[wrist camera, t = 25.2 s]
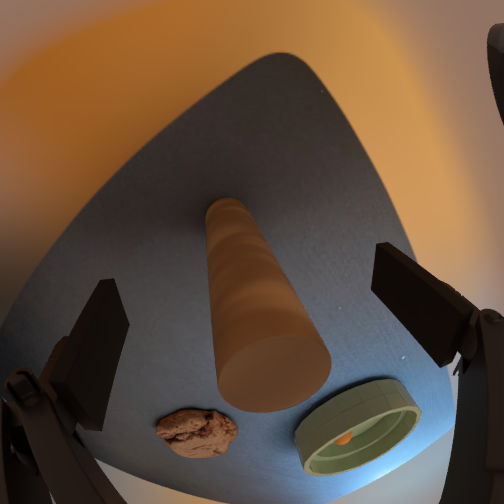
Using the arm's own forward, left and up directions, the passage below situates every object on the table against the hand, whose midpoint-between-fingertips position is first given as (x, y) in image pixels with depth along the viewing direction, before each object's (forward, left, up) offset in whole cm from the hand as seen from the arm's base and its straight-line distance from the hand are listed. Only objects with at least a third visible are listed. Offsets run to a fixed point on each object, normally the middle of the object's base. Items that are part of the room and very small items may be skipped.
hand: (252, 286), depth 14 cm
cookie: (+7, +25, -9) cm, 28 cm away
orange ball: (-12, +31, -6) cm, 34 cm away
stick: (0, -1, -8) cm, 8 cm away
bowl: (-14, +30, -8) cm, 34 cm away
